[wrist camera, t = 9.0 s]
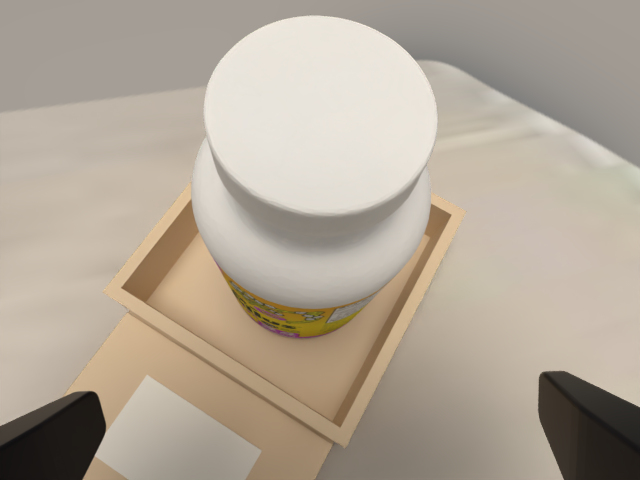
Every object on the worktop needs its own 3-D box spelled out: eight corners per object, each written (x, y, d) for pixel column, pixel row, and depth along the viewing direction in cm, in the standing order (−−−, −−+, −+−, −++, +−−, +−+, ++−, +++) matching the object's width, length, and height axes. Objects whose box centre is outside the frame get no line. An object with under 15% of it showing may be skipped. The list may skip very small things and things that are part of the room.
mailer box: (241, 617, 16) (228, 677, 13) (19, 458, 17) (-44, 474, 14) (439, 237, 22) (466, 211, 19) (262, 138, 23) (258, 97, 20)
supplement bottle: (206, 254, 20) (82, 57, 8) (317, 185, 22) (352, -63, 10) (284, 372, 19) (276, 345, 7) (397, 289, 20) (557, 144, 8)
